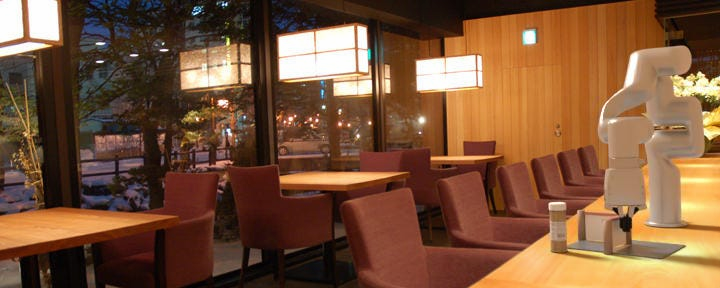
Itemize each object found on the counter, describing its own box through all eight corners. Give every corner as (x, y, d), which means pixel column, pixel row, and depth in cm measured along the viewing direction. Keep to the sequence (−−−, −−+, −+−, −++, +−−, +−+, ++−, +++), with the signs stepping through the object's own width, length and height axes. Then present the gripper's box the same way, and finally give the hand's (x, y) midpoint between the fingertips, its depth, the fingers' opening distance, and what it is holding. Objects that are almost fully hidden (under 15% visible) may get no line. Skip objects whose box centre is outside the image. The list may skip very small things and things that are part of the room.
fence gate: (621, 243, 171) (621, 214, 171) (627, 243, 170) (626, 215, 170) (602, 248, 165) (602, 219, 164) (608, 249, 163) (607, 219, 163)
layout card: (592, 237, 186) (592, 235, 186) (685, 246, 168) (685, 244, 168) (563, 248, 171) (563, 246, 171) (661, 259, 153) (661, 257, 153)
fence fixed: (579, 239, 182) (579, 209, 182) (633, 245, 172) (632, 213, 171) (555, 248, 170) (554, 216, 170) (611, 255, 160) (610, 221, 160)
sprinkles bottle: (566, 249, 168) (565, 201, 168) (568, 253, 164) (566, 203, 164) (549, 249, 169) (547, 201, 169) (550, 253, 165) (549, 203, 165)
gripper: (651, 162, 166) (653, 228, 166) (592, 163, 169) (594, 228, 170) (657, 164, 158) (659, 234, 159) (596, 165, 162) (598, 233, 163)
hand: (625, 231), depth 165 cm, fingers closed
